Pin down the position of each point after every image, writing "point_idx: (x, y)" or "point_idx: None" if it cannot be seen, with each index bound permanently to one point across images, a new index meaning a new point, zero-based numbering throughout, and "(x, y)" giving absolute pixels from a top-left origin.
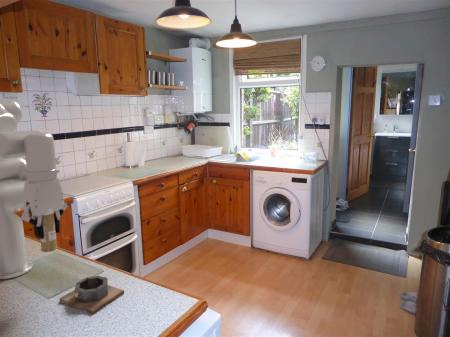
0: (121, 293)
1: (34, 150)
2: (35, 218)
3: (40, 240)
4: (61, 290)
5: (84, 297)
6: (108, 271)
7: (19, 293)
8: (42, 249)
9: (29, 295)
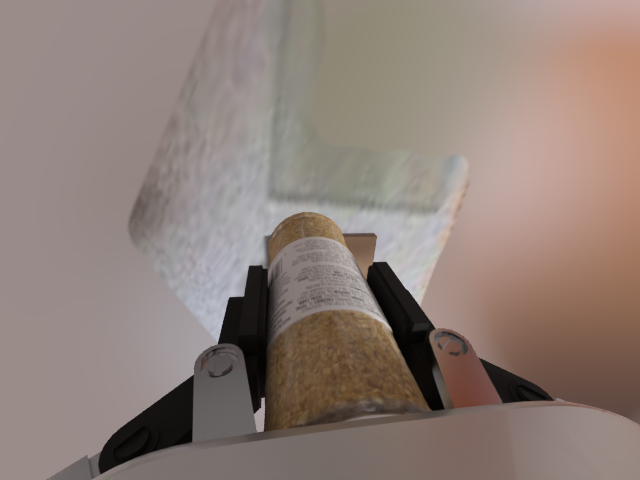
0: None
1: None
2: (234, 423)
3: (269, 271)
4: (312, 192)
5: None
6: (437, 224)
7: (239, 80)
8: (270, 252)
9: (249, 127)
